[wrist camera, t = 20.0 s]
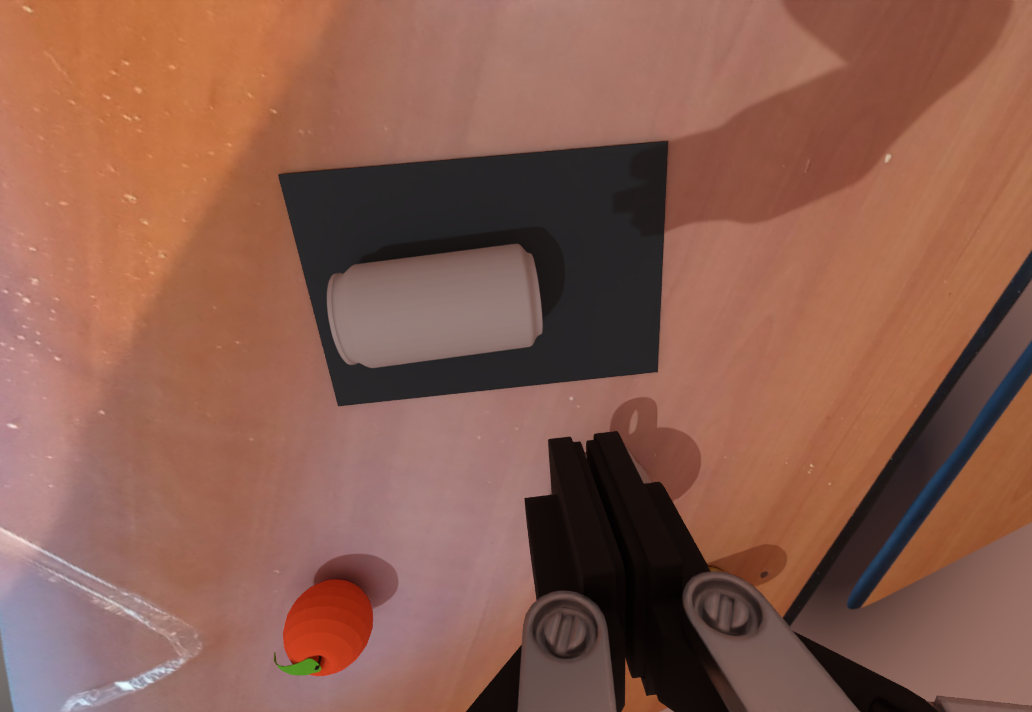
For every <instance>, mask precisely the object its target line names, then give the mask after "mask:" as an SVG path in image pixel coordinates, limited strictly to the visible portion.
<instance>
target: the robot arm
mask: <svg viewBox="0 0 1032 712" xmlns="http://www.w3.org/2000/svg"><path fill="white" fill-rule="evenodd" d="M548 447H549V461H550V475H551V489H552V495H546V496H538V497H529V498H525V509H526V519H527V529H528V538H529V546H530V554H531V562H532V569H533V577H534V584H535V592H536V599H537V601H536V602H534V603H533V604H532V605H531V607H530V609H529V610H528V612H527V613H526V616H525V620H524V624H523V635H522V645H521V646H520V647H519V648H518V650H517V651H516V652H515V653H514V654H513V656H512V657H511V658H510V659H509V661H508V662H507V663H506V664H505V665H504V667H503V668H502V669H501V670H500V671H499V673H498V674H497V675H496V676H495V677H494V679H493V680H492V681H491V682H490V683H489V685H488V686H487V687H486V688H485V689H484V691H483V692H482V693H481V694H480V695H479V697H478V698H477V699H476V700H475V701H474V703H473V704H472V705H471V706H470V707H469V709H468V710H467V711H466V712H621V711H622V710H623V708H624V706H625V658H626V661H627V665H628V668H629V671H630V674H631V676H632V678H638V677H641V680H642V683H643V686H644V689H645V692H646V696H648V695H655V694H657V697H658V700H659V701H660V702H661V703H662V704H664V705H665V706H667V707H668V708H670V709H671V710H672V711H674V712H1032V706H1029V705H1019V704H1010V703H1001V702H990V701H982V700H972V699H964V698H954V697H945V696H937V697H936V699H935V701H934V702H928V701H926V700H925V699H923V698H921V697H920V696H918V695H916V694H915V693H913V692H912V691H910V690H908V689H907V688H905V687H903V686H901V685H899V684H897V683H895V682H893V681H891V680H889V679H887V678H885V677H883V676H881V675H879V674H877V673H875V672H873V671H871V670H869V669H867V668H865V667H863V666H861V665H859V664H857V663H855V662H853V661H851V660H849V659H847V658H845V657H843V656H841V655H839V654H838V653H836V652H833V651H832V650H829V649H828V648H826V647H824V646H822V645H820V644H818V643H816V642H814V641H812V640H810V639H808V638H806V637H804V636H802V635H800V634H798V633H796V632H794V631H793V630H792V629H791V628H790V627H789V626H788V624H787V623H786V622H785V621H784V620H783V618H782V617H781V616H780V615H779V614H778V612H777V611H776V610H775V609H774V608H773V606H772V605H771V604H770V603H769V602H768V600H767V599H766V598H765V597H764V595H763V594H762V593H761V592H759V591H758V590H757V589H756V588H755V587H754V586H753V585H752V584H750V583H749V582H747V581H745V580H744V579H742V578H740V577H738V576H735V575H732V574H729V573H725V572H717V571H710V569H709V567H708V565H707V563H706V561H705V560H704V558H703V556H702V554H701V552H700V551H699V549H698V547H697V545H696V543H695V542H694V540H693V538H692V536H691V534H690V533H689V531H688V529H687V527H686V525H685V524H684V522H683V520H682V518H681V516H680V515H679V513H678V511H677V509H676V507H675V506H674V504H673V502H672V500H671V498H670V497H669V495H668V493H667V491H666V489H665V488H664V486H663V485H662V483H660V482H653V483H643V481H642V479H641V477H640V475H639V473H638V471H637V469H636V467H635V465H634V463H633V461H632V459H631V457H630V455H629V453H628V451H627V449H626V447H625V445H624V443H623V441H622V439H621V437H620V435H619V433H618V432H617V431H614V432H605V433H597V434H594V440H589V441H587V442H586V455H585V453H584V450H583V447H582V444H581V442H573V441H572V438H571V437H563V438H554V439H549V440H548ZM586 456H587V458H586Z"/></svg>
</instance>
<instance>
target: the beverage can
mask: <svg viewBox="0 0 1032 712" xmlns="http://www.w3.org/2000/svg"><path fill="white" fill-rule="evenodd" d="M327 309H328V317H329V323H330V328H331V332H332V336H333V339H334V342H335V345H336V347H337V350H338V352H339V354H340V356H341V357H342V359H343V360H344V361H345V362H346V363H347V364H349V365H354V364H358V363H361V364H363V365H364V366H367V367H369V368H377V367H385V366H392V365H400V364H407V363H414V362H422V361H429V360H436V359H444V358H451V357H458V356H466V355H473V354H480V353H488V352H495V351H503V350H510V349H517V348H525V347H530V346H532V345H533V343H534V341H535V339H536V338H537V336H539V335H541V334H542V329H543V323H542V308H541V298H540V291H539V284H538V277H537V272H536V267H535V262H534V259H533V256H532V254H531V253H527V252H526V251H525V250H524V249H523V248H522V246H521V245H519V244H510V245H503V246H495V247H487V248H479V249H472V250H464V251H456V252H448V253H440V254H433V255H425V256H417V257H409V258H402V259H394V260H386V261H378V262H371V263H363V264H355V265H353V266H351V267H350V268H349V269H348V270H347V271H346V272H345V273H344V274H342V273H336V274H333V275H332V276H331V278H330V280H329V283H328V289H327Z"/></svg>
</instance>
